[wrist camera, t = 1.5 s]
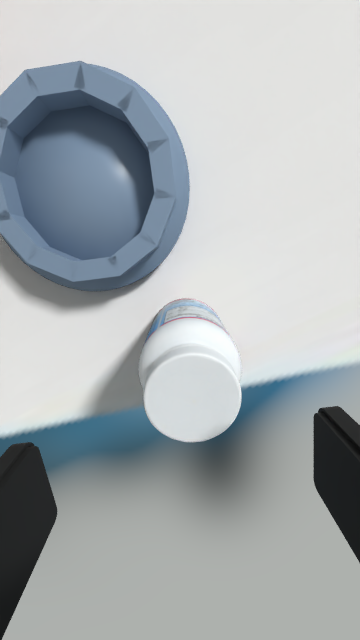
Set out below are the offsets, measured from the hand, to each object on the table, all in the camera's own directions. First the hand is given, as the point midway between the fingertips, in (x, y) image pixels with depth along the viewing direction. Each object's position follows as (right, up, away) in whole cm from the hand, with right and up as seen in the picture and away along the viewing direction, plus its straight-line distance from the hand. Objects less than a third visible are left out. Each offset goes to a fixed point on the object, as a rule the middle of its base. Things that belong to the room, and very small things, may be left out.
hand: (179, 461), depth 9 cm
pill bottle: (+1, +4, +14) cm, 15 cm away
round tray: (-7, +15, +11) cm, 20 cm away
